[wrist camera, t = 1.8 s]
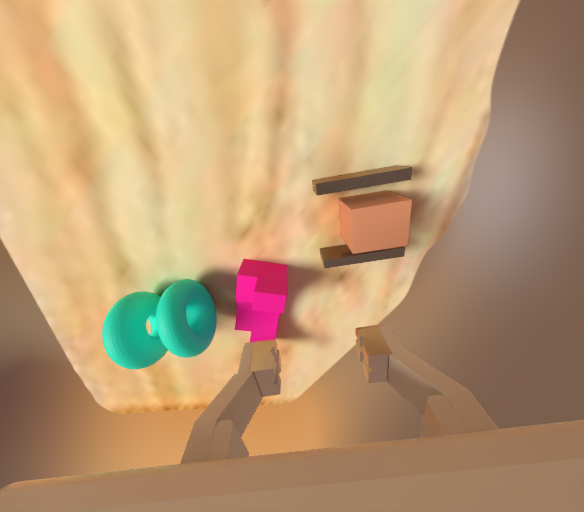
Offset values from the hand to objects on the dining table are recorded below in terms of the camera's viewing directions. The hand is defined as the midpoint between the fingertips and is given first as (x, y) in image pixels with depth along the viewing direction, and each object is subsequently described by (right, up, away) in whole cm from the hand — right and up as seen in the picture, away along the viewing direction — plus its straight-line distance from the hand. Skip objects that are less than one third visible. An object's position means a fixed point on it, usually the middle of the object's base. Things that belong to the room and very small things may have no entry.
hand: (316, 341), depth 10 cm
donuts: (-18, -2, +22) cm, 29 cm away
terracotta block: (+8, +10, +17) cm, 21 cm away
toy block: (-6, -3, +23) cm, 24 cm away
